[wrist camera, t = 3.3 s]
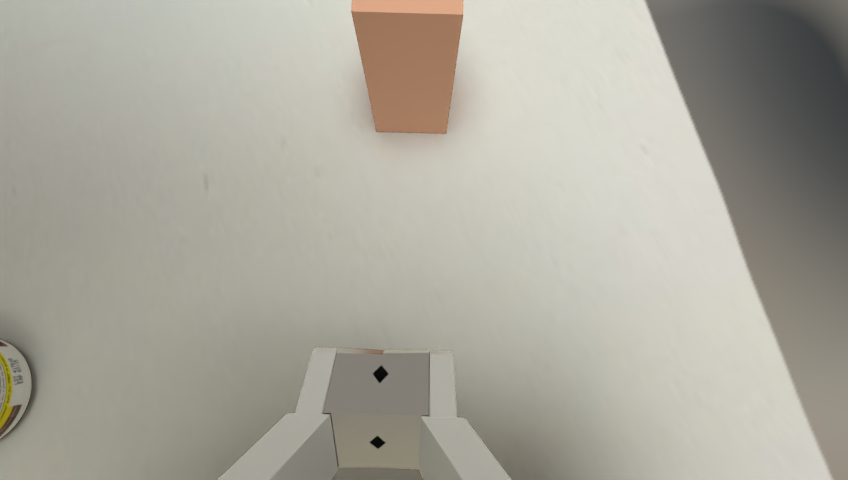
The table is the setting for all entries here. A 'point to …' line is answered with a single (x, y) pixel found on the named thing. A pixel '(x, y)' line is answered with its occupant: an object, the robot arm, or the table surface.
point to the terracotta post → (409, 60)
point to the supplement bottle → (12, 386)
